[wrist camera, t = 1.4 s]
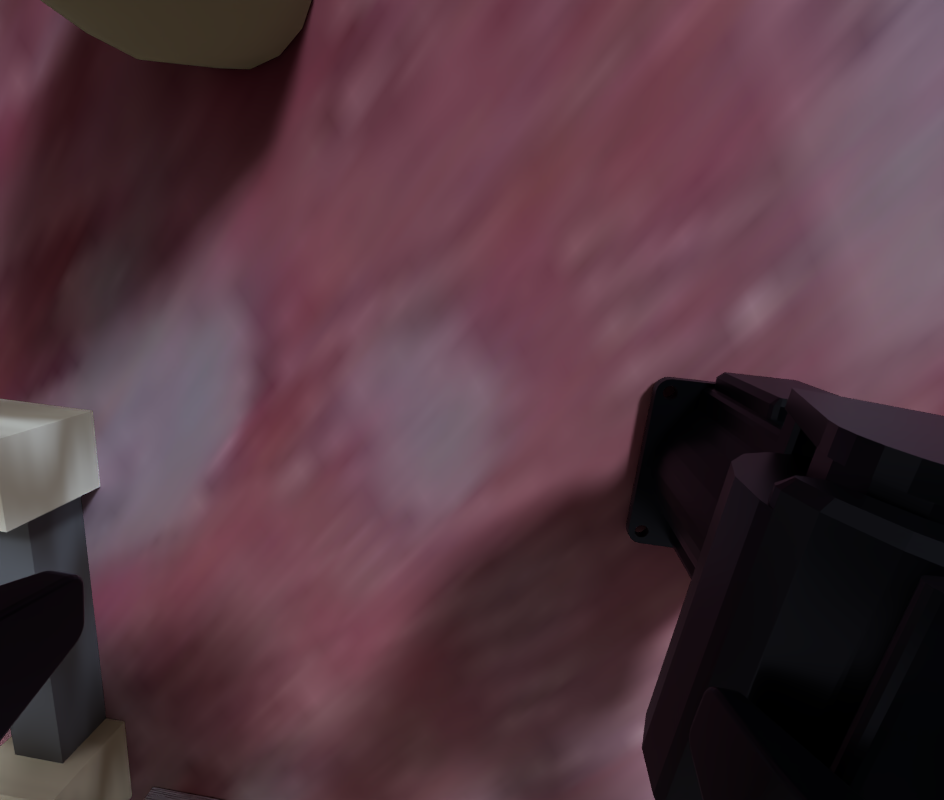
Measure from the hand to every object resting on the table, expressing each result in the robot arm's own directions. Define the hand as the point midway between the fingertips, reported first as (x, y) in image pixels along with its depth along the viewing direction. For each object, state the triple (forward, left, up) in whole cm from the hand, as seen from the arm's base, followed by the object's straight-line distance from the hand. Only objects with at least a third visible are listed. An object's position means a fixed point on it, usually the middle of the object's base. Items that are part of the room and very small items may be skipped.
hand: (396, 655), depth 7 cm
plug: (-12, +18, -12) cm, 25 cm away
